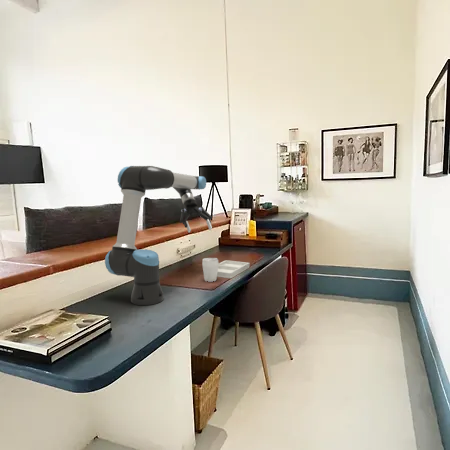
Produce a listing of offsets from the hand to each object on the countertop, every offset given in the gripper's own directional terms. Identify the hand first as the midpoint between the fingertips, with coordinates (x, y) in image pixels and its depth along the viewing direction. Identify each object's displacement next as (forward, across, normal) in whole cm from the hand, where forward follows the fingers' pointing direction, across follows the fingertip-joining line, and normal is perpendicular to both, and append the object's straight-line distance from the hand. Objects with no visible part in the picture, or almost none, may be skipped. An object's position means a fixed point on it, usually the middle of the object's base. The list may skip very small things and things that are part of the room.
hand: (200, 230), depth 206 cm
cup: (+28, 0, -11) cm, 30 cm away
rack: (+19, -18, -20) cm, 33 cm away
